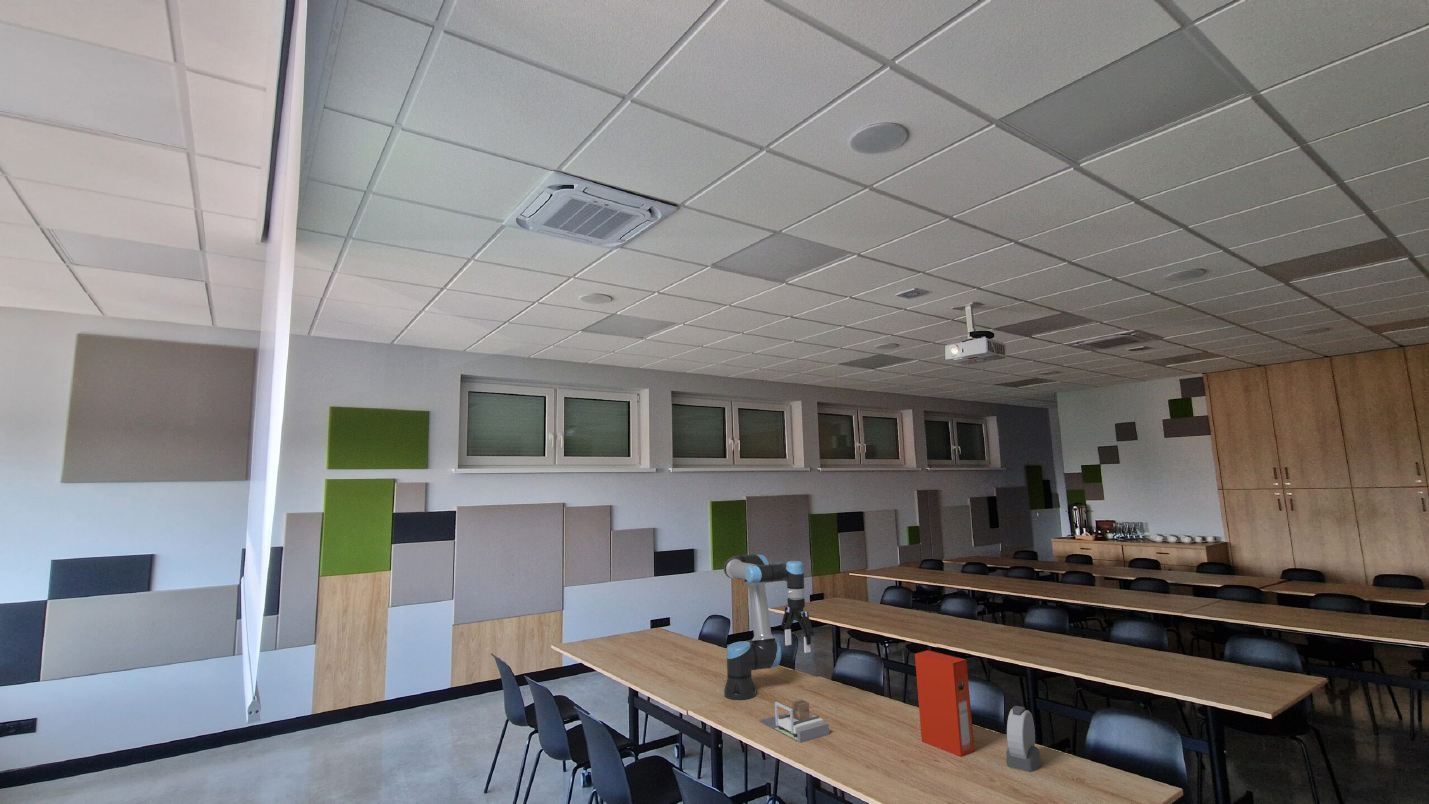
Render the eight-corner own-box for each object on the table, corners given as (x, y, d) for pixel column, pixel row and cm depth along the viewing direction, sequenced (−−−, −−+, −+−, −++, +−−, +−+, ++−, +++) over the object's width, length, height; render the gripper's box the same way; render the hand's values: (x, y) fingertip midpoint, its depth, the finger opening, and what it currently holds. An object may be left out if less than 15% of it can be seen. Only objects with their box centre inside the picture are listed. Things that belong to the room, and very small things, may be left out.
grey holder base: (759, 721, 262) (758, 711, 263) (786, 714, 270) (786, 704, 270) (800, 742, 239) (799, 731, 239) (829, 734, 246) (828, 723, 247)
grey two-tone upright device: (1014, 751, 226) (1009, 698, 228) (1045, 758, 219) (1040, 703, 222) (1001, 767, 213) (996, 710, 216) (1034, 775, 207) (1028, 716, 209)
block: (792, 717, 253) (791, 701, 253) (801, 714, 255) (801, 699, 256) (799, 720, 248) (799, 704, 249) (809, 718, 251) (808, 702, 252)
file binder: (960, 757, 222) (952, 662, 227) (921, 741, 237) (914, 653, 241) (974, 751, 226) (966, 659, 231) (935, 736, 241) (928, 649, 245)
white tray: (774, 728, 252) (773, 701, 254) (803, 720, 260) (801, 694, 261) (794, 739, 241) (792, 710, 243) (823, 730, 249) (822, 702, 250)
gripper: (772, 594, 281) (773, 643, 278) (806, 603, 259) (808, 656, 257) (786, 592, 285) (787, 640, 282) (821, 601, 263) (823, 653, 261)
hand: (797, 648), depth 270 cm, fingers open, 13 cm apart
